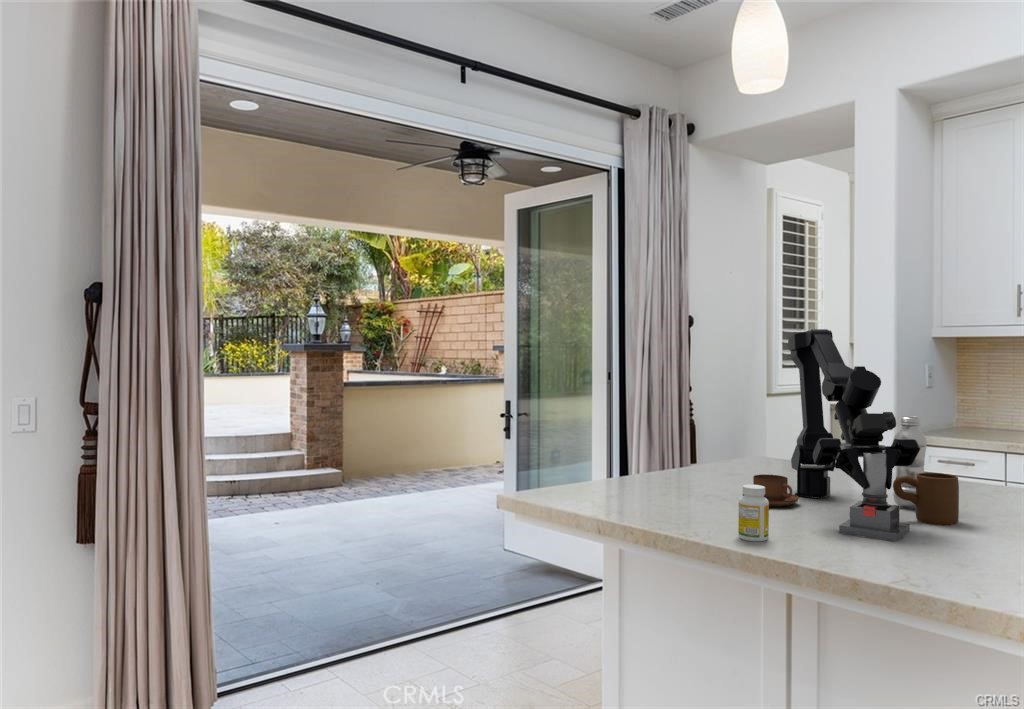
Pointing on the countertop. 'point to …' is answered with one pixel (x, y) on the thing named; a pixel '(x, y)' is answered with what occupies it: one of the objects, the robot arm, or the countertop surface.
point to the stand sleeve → (875, 523)
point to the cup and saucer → (776, 489)
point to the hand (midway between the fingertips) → (877, 488)
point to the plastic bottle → (913, 432)
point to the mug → (932, 497)
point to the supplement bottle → (753, 514)
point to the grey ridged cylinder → (875, 479)
